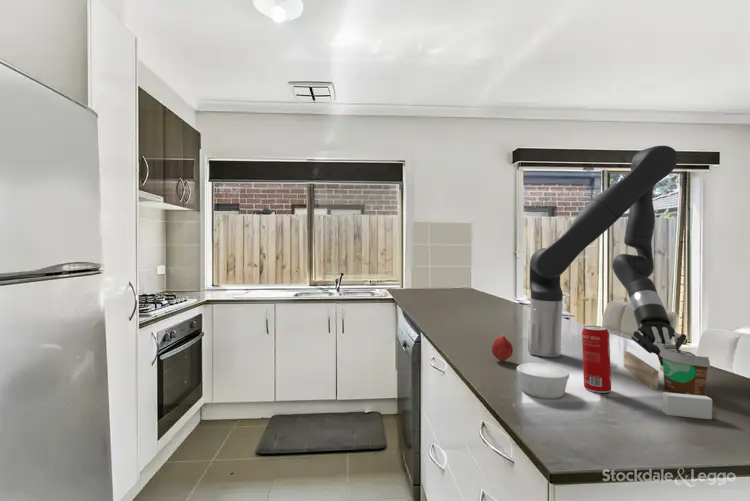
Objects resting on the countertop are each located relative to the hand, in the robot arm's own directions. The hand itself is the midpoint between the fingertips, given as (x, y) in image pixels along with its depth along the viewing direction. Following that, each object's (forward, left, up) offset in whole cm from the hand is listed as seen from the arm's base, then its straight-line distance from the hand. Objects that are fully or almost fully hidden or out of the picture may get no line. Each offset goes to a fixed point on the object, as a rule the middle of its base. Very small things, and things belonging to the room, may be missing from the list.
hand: (669, 367), depth 102 cm
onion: (-40, +8, -5) cm, 41 cm away
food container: (-1, -5, -5) cm, 7 cm away
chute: (-1, +4, -4) cm, 6 cm away
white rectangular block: (-6, -20, -4) cm, 21 cm away
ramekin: (-33, -14, -5) cm, 36 cm away
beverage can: (-19, -9, -5) cm, 22 cm away
